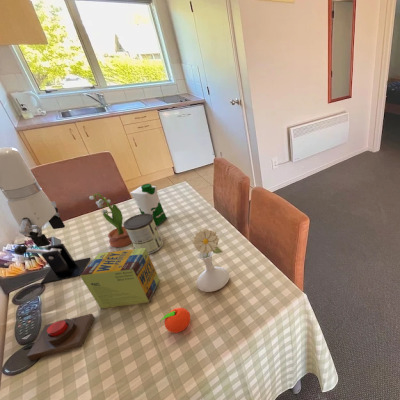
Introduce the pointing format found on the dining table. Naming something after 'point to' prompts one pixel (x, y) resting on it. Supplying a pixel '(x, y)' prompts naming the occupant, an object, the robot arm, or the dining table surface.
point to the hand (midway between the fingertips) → (52, 236)
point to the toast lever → (32, 250)
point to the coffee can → (143, 232)
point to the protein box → (121, 278)
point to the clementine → (177, 320)
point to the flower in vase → (209, 262)
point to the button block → (62, 338)
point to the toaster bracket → (62, 265)
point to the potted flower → (114, 223)
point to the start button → (57, 328)
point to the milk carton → (149, 202)
